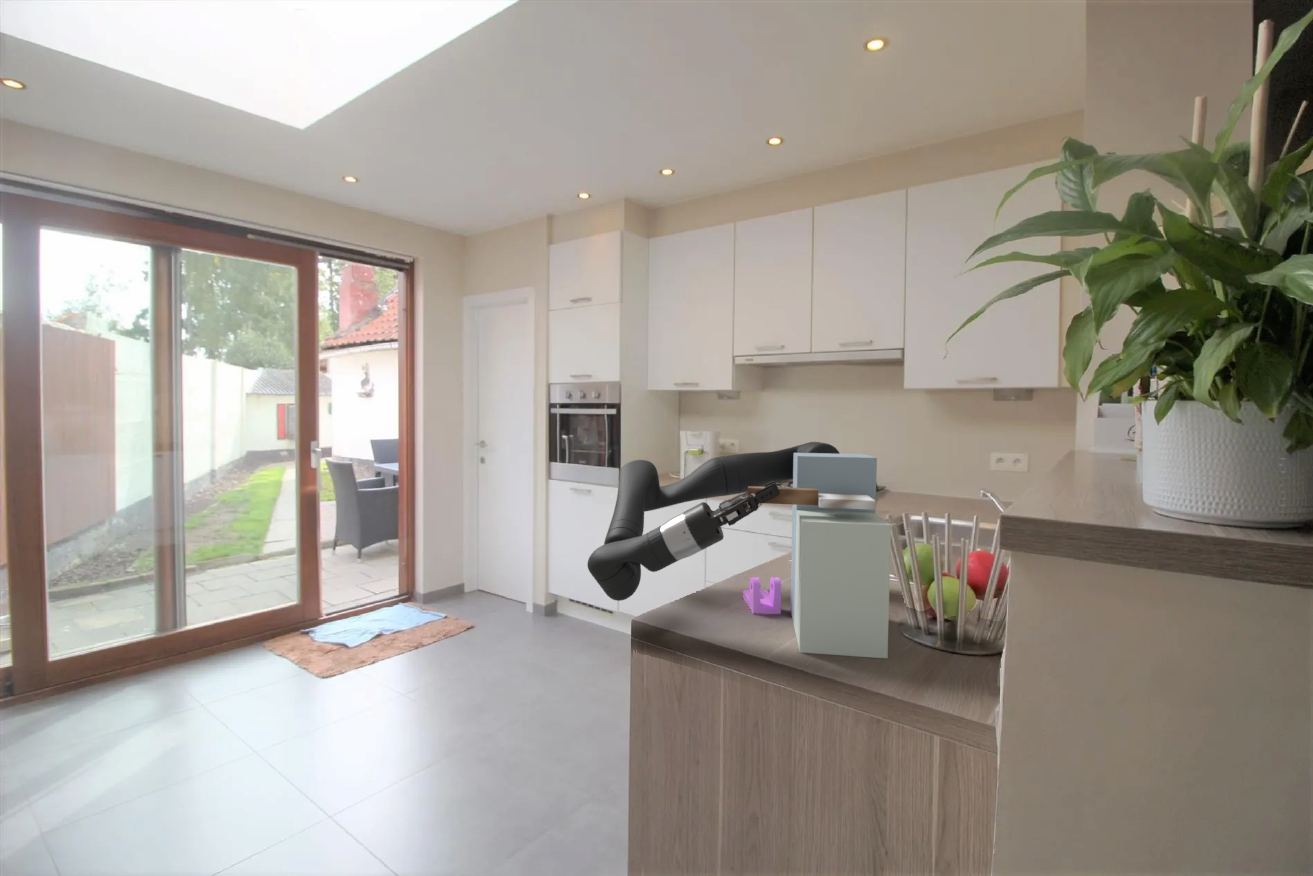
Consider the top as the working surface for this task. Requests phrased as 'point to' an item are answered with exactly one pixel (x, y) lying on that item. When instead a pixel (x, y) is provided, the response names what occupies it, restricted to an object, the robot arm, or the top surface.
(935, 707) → the top surface
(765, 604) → the bracket
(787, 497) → the turner
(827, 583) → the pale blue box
